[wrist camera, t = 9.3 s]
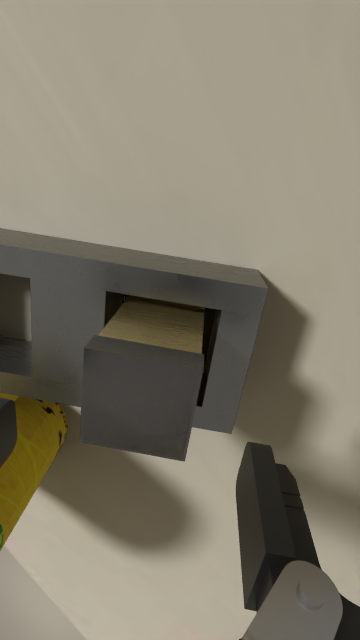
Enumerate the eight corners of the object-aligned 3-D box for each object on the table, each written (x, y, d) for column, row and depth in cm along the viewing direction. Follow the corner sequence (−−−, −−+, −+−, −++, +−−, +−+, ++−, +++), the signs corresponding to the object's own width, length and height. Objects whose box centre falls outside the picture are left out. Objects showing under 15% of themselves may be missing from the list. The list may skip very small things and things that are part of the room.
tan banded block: (135, 284, 21) (83, 347, 13) (207, 297, 21) (203, 369, 12) (128, 349, 23) (79, 441, 14) (194, 360, 22) (184, 461, 14)
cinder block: (-64, 218, 20) (-125, 224, 17) (257, 270, 20) (268, 288, 16) (-47, 347, 24) (-95, 375, 20) (228, 394, 23) (231, 434, 19)
